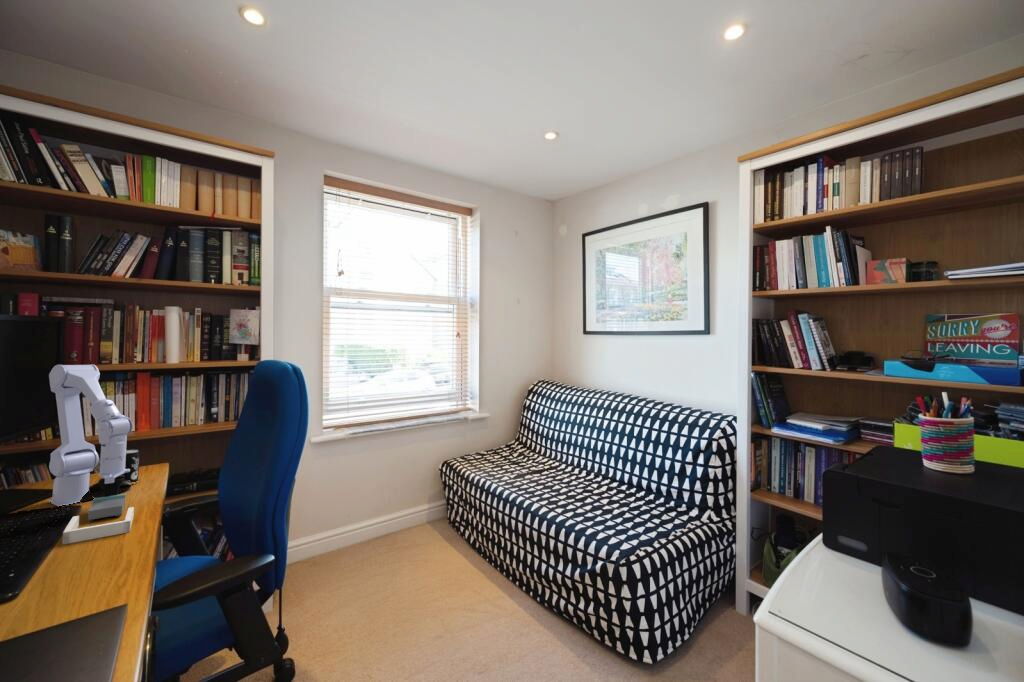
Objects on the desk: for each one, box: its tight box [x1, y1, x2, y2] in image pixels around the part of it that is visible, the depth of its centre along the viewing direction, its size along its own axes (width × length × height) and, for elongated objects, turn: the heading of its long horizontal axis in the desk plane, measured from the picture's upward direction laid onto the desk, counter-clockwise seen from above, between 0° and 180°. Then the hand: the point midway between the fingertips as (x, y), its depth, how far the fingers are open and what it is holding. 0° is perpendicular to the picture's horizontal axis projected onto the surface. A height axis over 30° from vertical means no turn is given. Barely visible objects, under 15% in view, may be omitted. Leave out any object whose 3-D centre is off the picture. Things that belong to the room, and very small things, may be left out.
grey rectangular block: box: [87, 493, 127, 522], centre depth 122 cm, size 10×7×4 cm
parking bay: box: [61, 506, 135, 546], centre depth 111 cm, size 13×12×3 cm
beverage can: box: [122, 449, 140, 483], centre depth 149 cm, size 7×7×12 cm
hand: (110, 501), depth 127 cm, fingers closed
